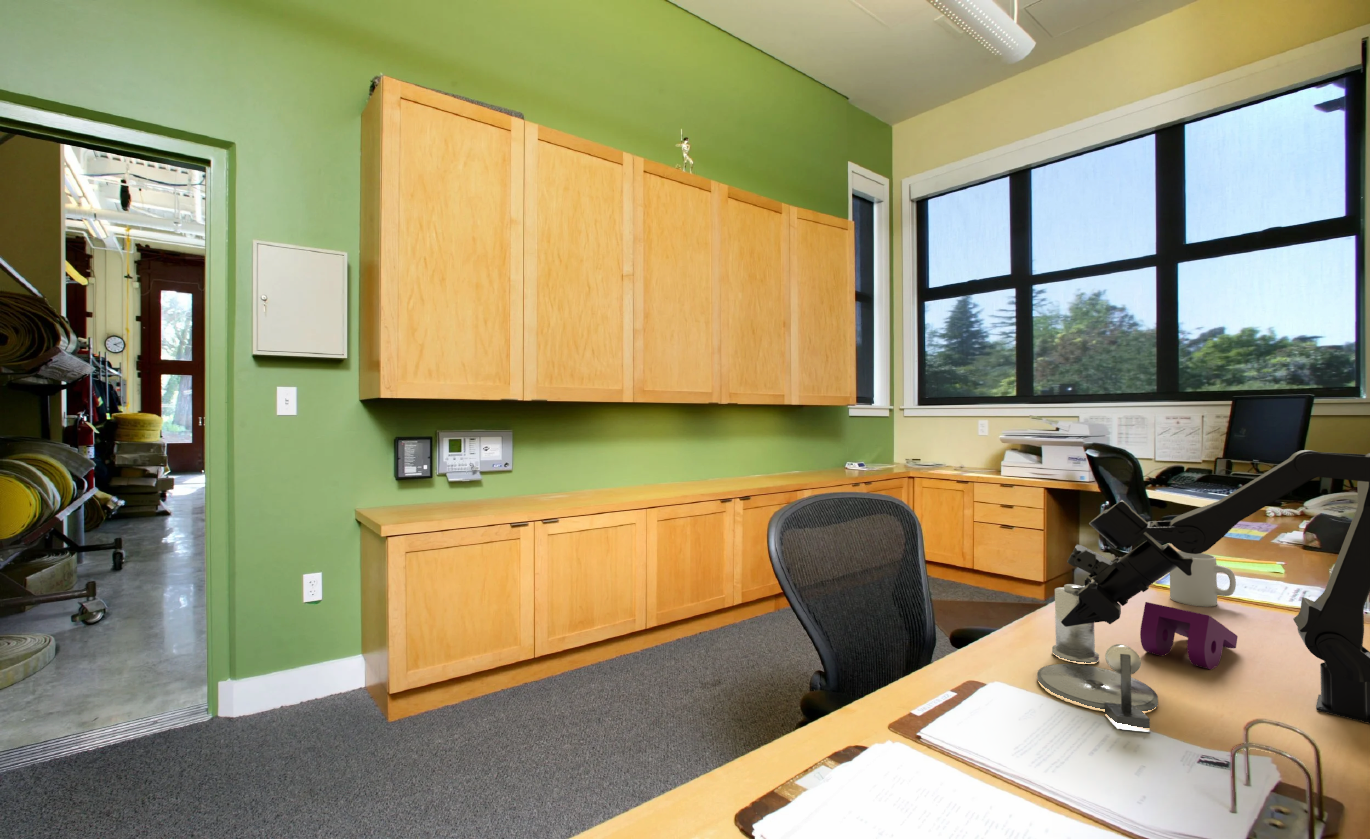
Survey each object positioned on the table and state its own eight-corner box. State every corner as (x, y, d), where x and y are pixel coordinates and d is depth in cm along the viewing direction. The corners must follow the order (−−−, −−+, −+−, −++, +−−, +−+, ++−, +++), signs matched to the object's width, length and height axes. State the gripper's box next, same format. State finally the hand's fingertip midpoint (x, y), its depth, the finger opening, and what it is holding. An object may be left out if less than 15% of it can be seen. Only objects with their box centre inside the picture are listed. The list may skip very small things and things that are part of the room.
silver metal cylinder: (1091, 668, 104) (1090, 594, 104) (1046, 656, 109) (1045, 586, 109) (1104, 657, 109) (1102, 586, 109) (1059, 646, 114) (1058, 579, 114)
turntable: (1143, 726, 84) (1143, 717, 84) (1021, 689, 96) (1021, 681, 96) (1169, 691, 95) (1168, 684, 95) (1056, 661, 107) (1056, 655, 107)
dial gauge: (1150, 733, 82) (1148, 654, 83) (1117, 729, 83) (1115, 651, 84) (1136, 718, 86) (1134, 643, 86) (1104, 715, 87) (1103, 641, 87)
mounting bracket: (1176, 669, 117) (1136, 646, 109) (1183, 627, 119) (1145, 601, 111) (1239, 686, 109) (1201, 663, 101) (1245, 641, 111) (1209, 615, 103)
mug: (1163, 599, 141) (1162, 554, 142) (1178, 593, 146) (1177, 549, 146) (1229, 613, 131) (1228, 563, 131) (1243, 606, 136) (1242, 558, 136)
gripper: (1103, 525, 114) (1038, 573, 121) (1093, 541, 99) (1020, 595, 106) (1156, 572, 109) (1085, 620, 116) (1153, 596, 94) (1073, 649, 101)
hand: (1065, 619), depth 110 cm, fingers closed on silver metal cylinder, 6 cm apart
